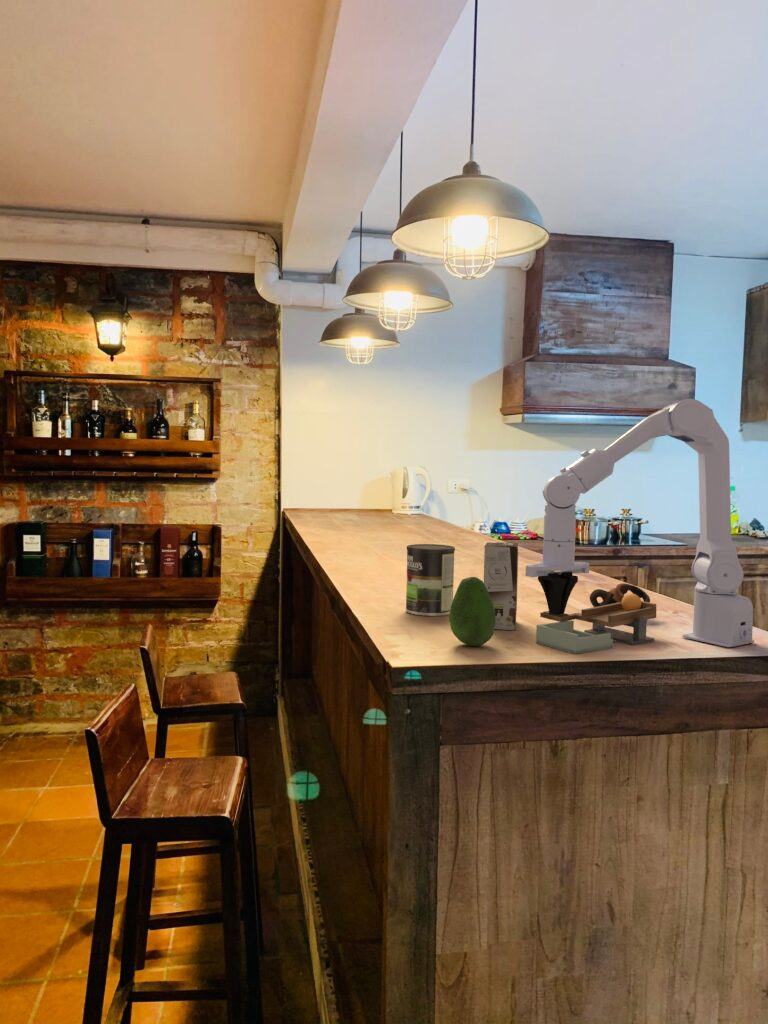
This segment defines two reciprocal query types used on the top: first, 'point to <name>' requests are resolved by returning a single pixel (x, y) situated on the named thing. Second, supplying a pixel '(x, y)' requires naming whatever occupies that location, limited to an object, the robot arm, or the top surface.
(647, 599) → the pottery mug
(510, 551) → the coffee box
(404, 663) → the top surface
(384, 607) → the top surface
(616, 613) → the lever
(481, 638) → the avocado
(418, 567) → the coffee can
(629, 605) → the ball
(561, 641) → the dish
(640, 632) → the fulcrum
